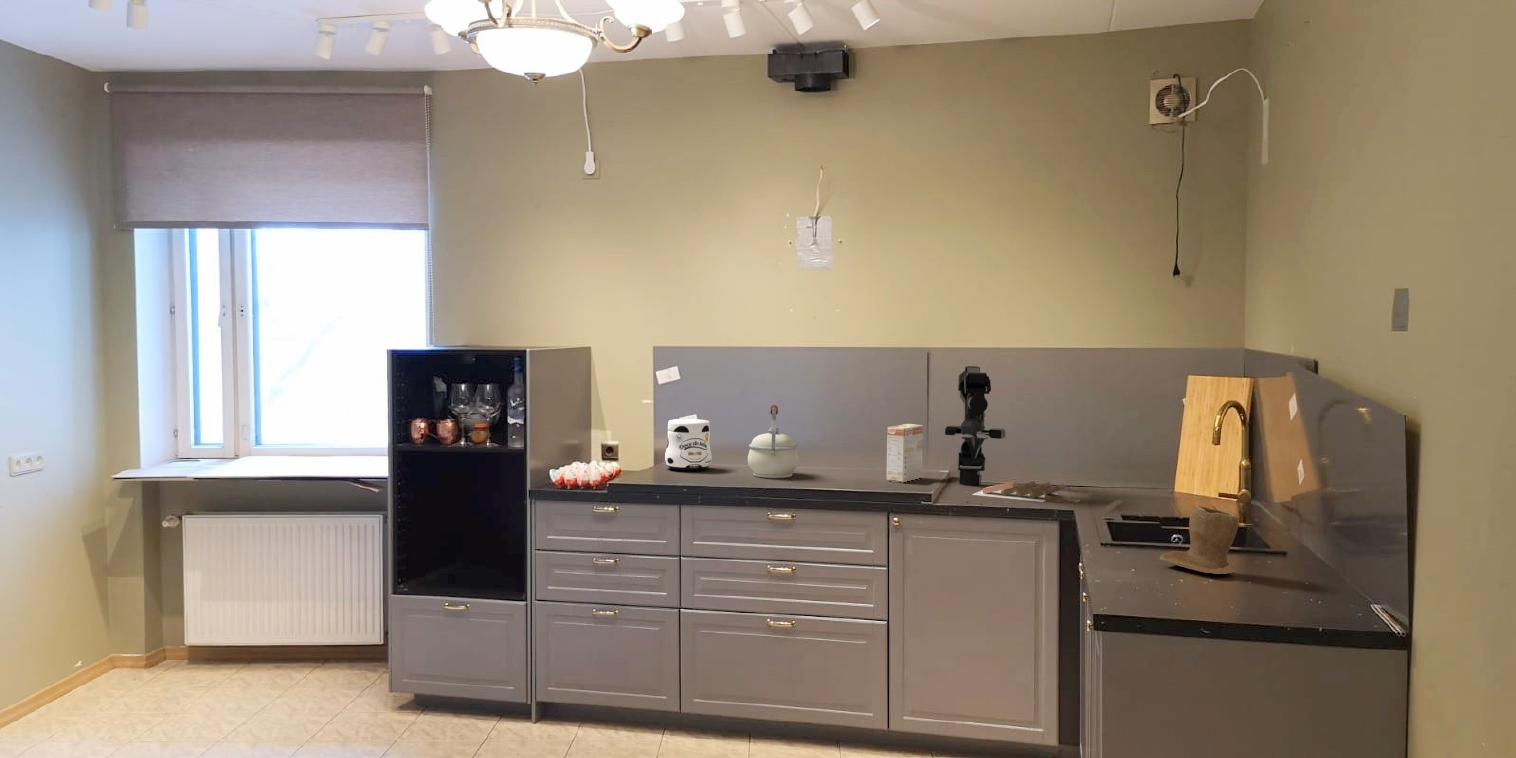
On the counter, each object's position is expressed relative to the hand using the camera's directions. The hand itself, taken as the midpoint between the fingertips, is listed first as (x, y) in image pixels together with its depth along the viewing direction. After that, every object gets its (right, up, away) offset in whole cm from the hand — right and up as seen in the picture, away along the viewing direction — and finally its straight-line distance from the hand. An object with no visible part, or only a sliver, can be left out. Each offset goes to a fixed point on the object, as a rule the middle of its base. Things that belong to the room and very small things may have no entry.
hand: (974, 458), depth 348 cm
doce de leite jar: (-96, -8, +48) cm, 108 cm away
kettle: (-65, -9, +38) cm, 76 cm away
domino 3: (+13, -11, -7) cm, 18 cm away
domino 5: (+21, -11, -11) cm, 26 cm away
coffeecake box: (-19, -10, +31) cm, 37 cm away
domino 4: (+17, -11, -9) cm, 22 cm away
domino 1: (+3, -10, -2) cm, 11 cm away
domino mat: (+13, -13, -3) cm, 18 cm away
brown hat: (+33, -19, -101) cm, 108 cm away
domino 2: (+9, -11, -5) cm, 15 cm away
